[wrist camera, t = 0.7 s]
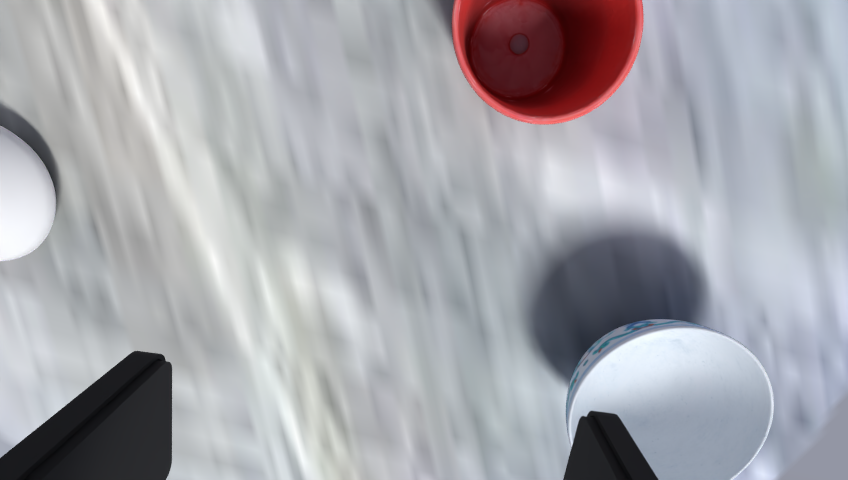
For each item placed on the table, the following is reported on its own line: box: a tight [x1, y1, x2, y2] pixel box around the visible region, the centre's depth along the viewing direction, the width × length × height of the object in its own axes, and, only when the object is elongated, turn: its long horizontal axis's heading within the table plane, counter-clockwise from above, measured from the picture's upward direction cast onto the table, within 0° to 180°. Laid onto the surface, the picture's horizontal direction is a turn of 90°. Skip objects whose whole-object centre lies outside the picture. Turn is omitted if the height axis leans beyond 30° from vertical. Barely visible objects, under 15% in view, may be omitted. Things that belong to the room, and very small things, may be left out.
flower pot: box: [452, 0, 643, 124], centre depth 31 cm, size 11×11×10 cm
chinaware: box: [566, 319, 774, 480], centre depth 39 cm, size 15×15×8 cm
